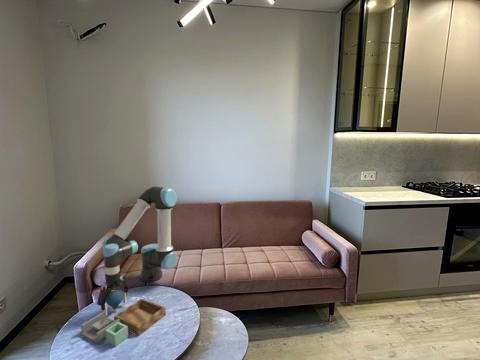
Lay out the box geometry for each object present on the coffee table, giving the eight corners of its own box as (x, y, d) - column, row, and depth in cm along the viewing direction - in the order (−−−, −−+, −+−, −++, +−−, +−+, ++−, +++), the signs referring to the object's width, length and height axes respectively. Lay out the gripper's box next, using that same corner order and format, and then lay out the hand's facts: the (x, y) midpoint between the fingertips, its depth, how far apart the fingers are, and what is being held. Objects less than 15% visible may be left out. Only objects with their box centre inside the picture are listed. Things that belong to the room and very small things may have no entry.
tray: (142, 305, 160) (141, 298, 160) (165, 315, 151) (165, 307, 151) (114, 323, 144) (113, 316, 144) (139, 335, 135) (138, 327, 135)
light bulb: (117, 317, 150) (115, 296, 148) (103, 315, 151) (102, 294, 150) (126, 307, 158) (125, 288, 156) (113, 306, 160) (112, 286, 158)
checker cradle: (105, 319, 148) (104, 310, 147) (122, 327, 141) (122, 318, 141) (79, 335, 136) (78, 325, 135) (97, 345, 129) (96, 335, 129)
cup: (118, 332, 138) (118, 321, 137) (128, 337, 134) (127, 326, 133) (106, 341, 132) (105, 330, 131) (115, 346, 128) (115, 335, 127)
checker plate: (102, 320, 142) (102, 318, 142) (110, 323, 139) (110, 321, 139) (91, 326, 137) (91, 325, 137) (99, 330, 134) (99, 329, 134)
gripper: (126, 262, 163) (128, 296, 167) (87, 280, 143) (90, 318, 146) (134, 265, 160) (137, 299, 163) (96, 283, 139) (99, 323, 142)
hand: (115, 308), depth 154 cm, fingers open, 12 cm apart
